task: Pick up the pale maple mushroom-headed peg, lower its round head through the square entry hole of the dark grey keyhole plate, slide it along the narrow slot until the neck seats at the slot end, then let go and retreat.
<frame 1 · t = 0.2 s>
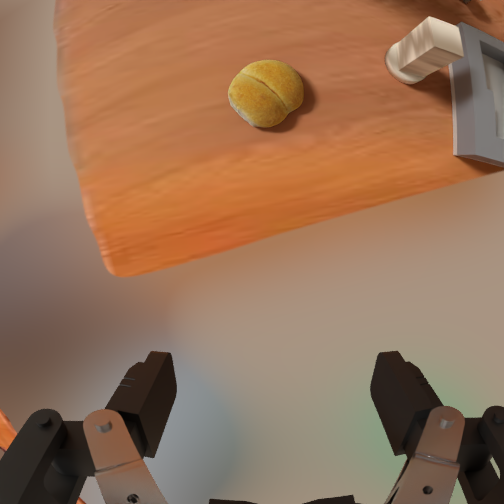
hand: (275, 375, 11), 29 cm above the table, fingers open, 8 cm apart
bread roll: (265, 95, 35), on the table
maple peg: (404, 64, 32), on the table
keyhole plate: (484, 101, 32), on the table
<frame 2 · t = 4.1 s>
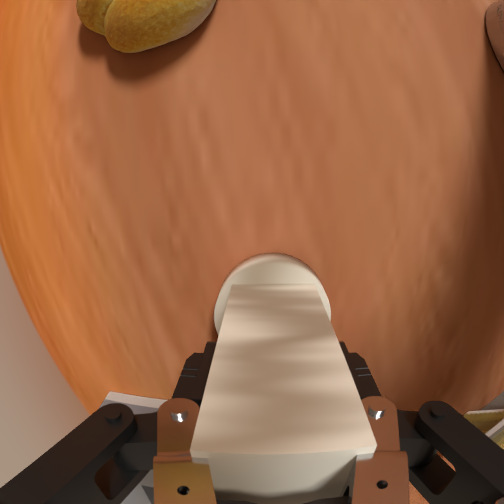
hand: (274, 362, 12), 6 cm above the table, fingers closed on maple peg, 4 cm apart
maple peg: (271, 303, 17), on the table, touching gripper
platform: (481, 399, 20), on the table
keyhole plate: (242, 460, 21), on the table
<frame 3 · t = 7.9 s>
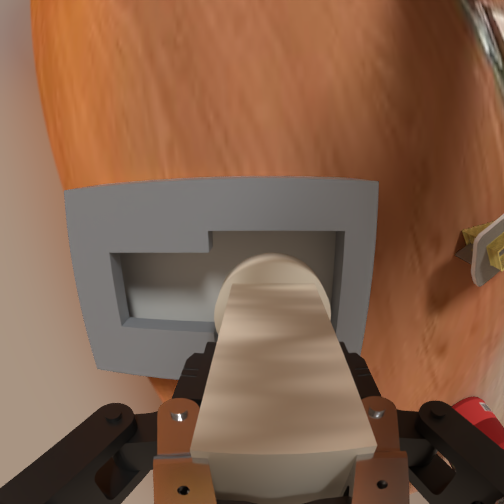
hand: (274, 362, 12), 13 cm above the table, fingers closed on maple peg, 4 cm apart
maple peg: (271, 303, 17), point 7 cm above the table, touching gripper
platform: (477, 224, 23), on the table
keyhole plate: (222, 267, 24), on the table
canned food: (458, 415, 29), on the table
when the fingers open (7 cm above the table, at t = 12.0 s): maple peg stays where it is, resting on keyhole plate.
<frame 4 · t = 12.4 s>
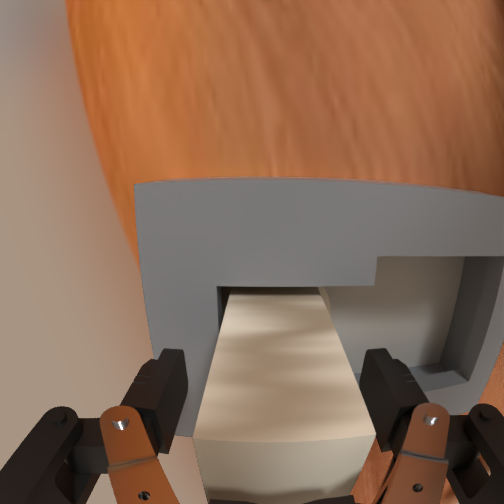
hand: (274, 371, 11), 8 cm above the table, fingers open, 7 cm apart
maple peg: (272, 300, 18), point 1 cm above the table, touching keyhole plate
keyhole plate: (339, 294, 18), on the table
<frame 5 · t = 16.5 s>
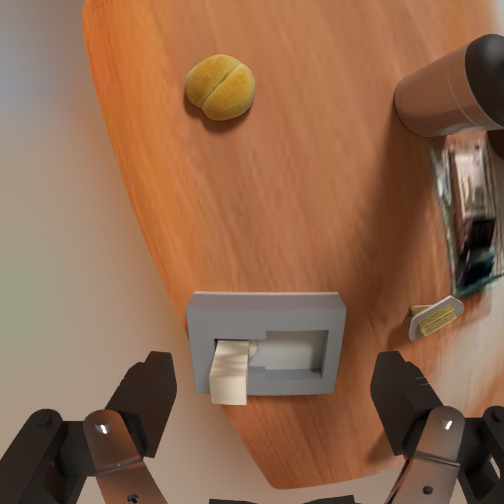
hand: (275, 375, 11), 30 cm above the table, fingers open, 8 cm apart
bread roll: (221, 89, 36), on the table
maple peg: (236, 338, 43), point 1 cm above the table, touching keyhole plate
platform: (422, 302, 43), on the table
keyhole plate: (265, 335, 44), on the table
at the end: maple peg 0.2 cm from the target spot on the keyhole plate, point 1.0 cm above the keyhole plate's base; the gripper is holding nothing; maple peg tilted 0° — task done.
